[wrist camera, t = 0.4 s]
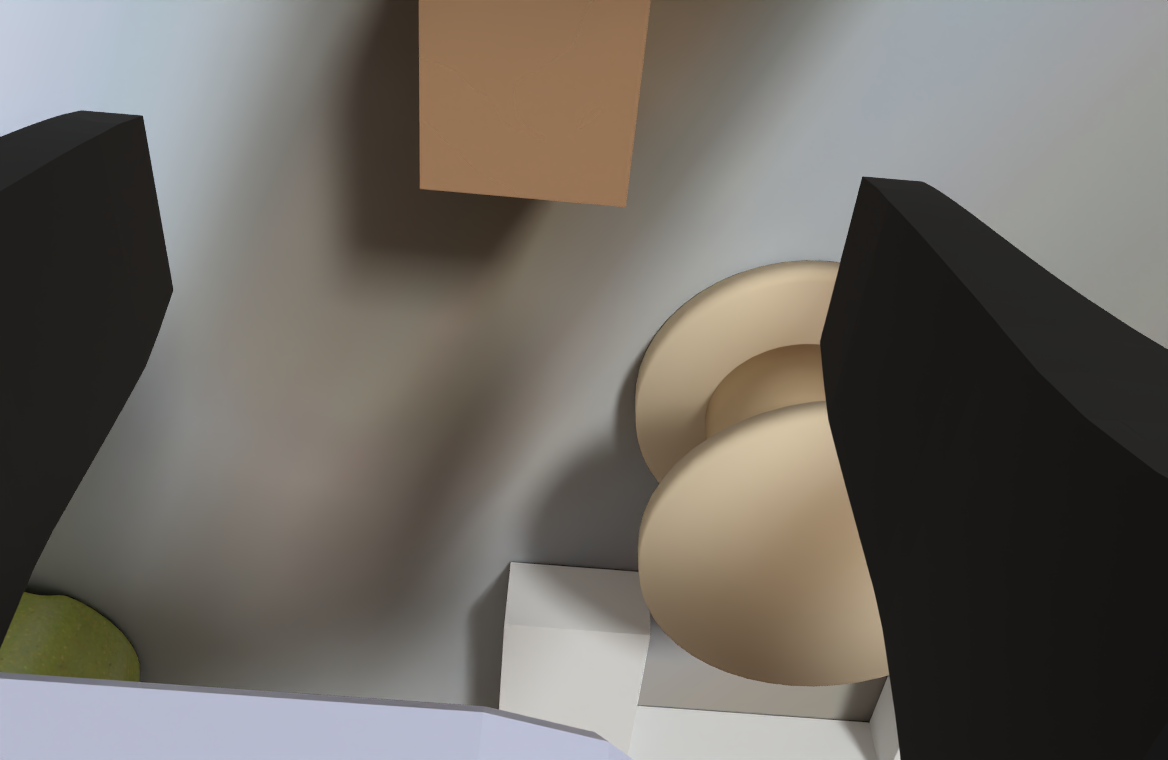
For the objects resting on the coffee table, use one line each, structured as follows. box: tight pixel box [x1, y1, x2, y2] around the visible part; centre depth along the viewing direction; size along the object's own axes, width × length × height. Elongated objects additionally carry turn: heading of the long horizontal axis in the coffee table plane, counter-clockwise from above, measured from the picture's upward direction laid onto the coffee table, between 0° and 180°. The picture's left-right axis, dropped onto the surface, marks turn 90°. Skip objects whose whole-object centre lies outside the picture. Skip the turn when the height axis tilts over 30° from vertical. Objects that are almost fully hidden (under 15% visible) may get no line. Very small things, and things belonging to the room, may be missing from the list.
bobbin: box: [635, 260, 889, 686], centre depth 22 cm, size 7×7×5 cm
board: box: [499, 562, 901, 760], centre depth 30 cm, size 16×8×2 cm, turn 85°
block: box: [419, 0, 651, 207], centre depth 17 cm, size 3×4×5 cm
